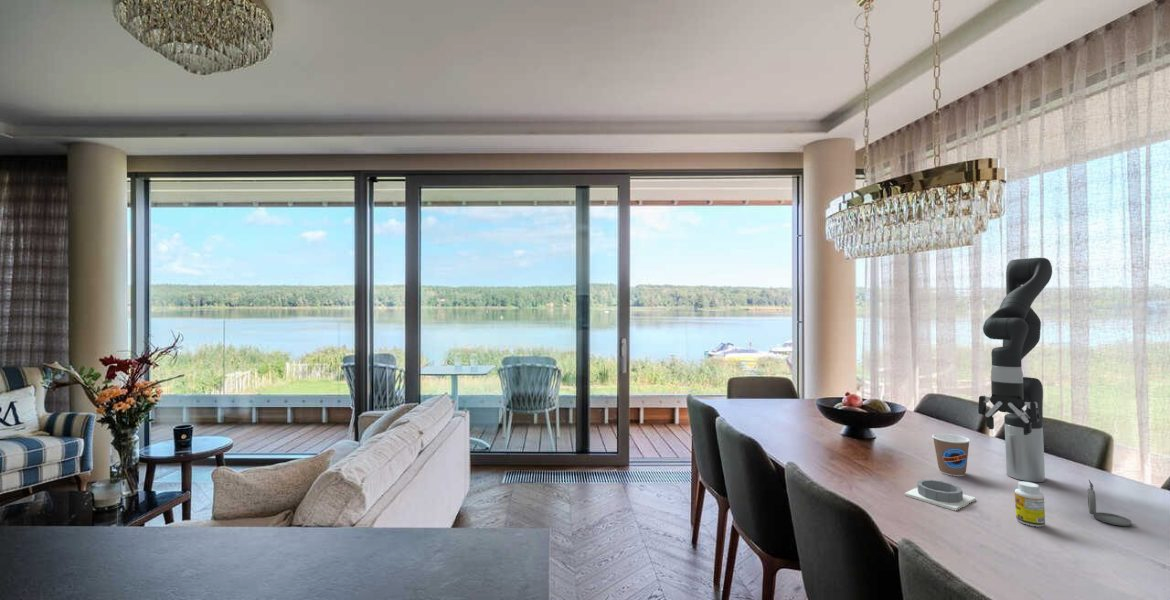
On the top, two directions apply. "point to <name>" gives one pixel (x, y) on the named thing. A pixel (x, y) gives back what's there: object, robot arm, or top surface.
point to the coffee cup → (951, 453)
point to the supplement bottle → (1029, 504)
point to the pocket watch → (1104, 516)
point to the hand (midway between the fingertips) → (1008, 431)
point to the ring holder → (940, 494)
